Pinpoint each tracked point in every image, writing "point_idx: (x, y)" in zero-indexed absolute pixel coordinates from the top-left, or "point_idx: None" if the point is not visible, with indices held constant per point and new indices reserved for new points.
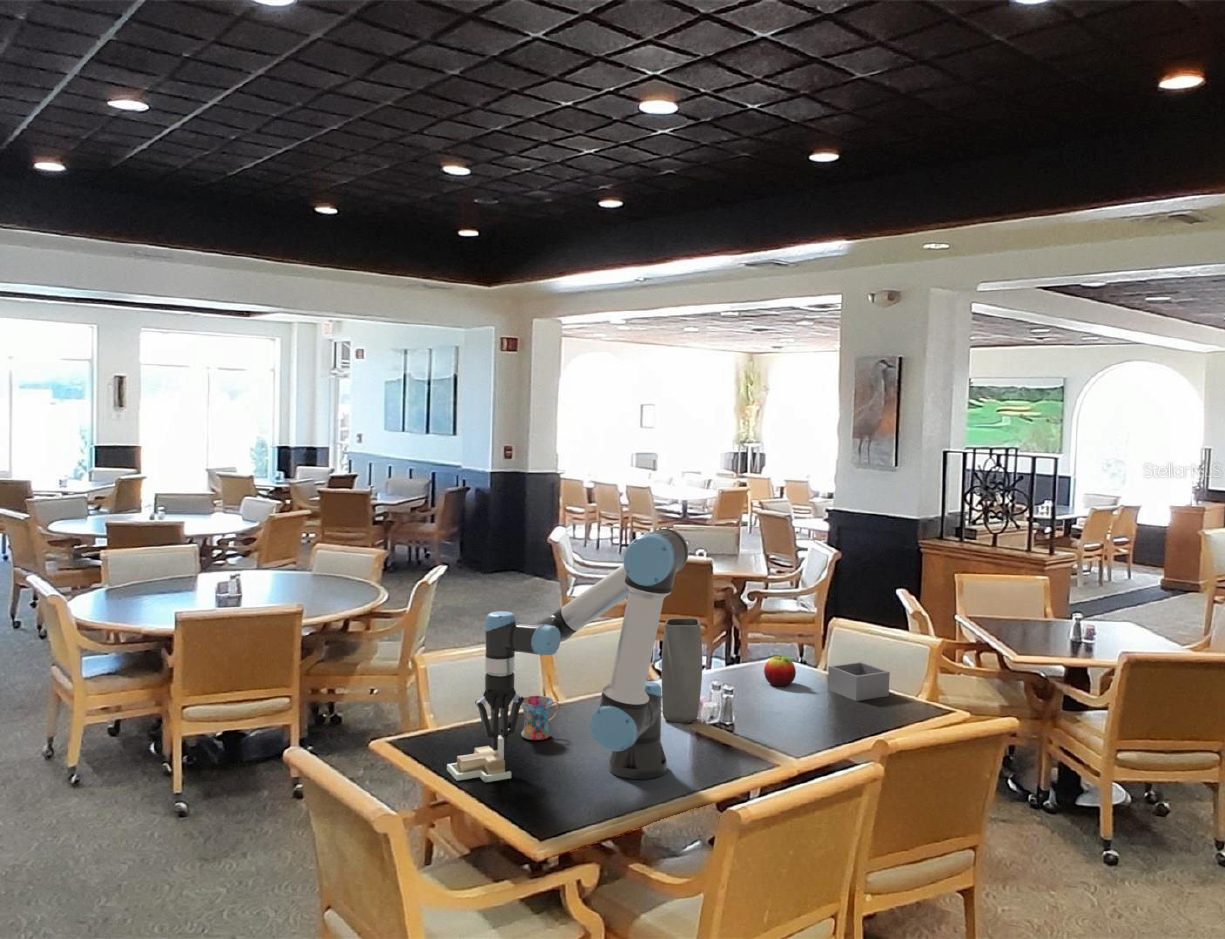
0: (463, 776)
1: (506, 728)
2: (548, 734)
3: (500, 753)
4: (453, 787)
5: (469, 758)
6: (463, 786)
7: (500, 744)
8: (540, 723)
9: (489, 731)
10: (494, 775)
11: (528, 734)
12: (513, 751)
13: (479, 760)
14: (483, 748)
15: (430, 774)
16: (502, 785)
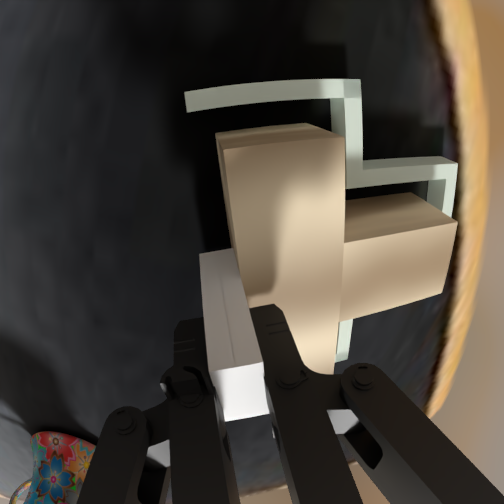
0: (426, 161)
1: (186, 458)
2: (33, 441)
3: (226, 285)
4: (465, 95)
5: (416, 253)
6: (436, 84)
7: (235, 329)
8: (47, 475)
9: (382, 407)
10: (301, 80)
11: (87, 454)
12: (133, 395)
13: (370, 232)
14: None
15: (472, 250)
16: (264, 7)
